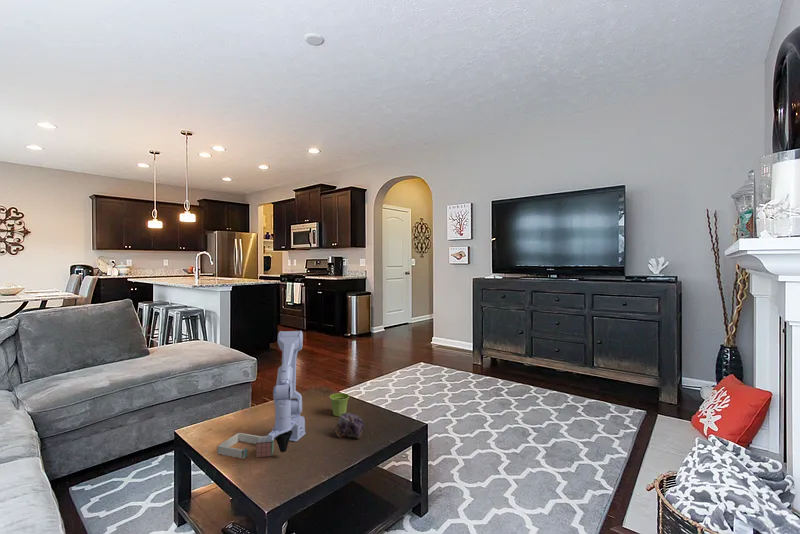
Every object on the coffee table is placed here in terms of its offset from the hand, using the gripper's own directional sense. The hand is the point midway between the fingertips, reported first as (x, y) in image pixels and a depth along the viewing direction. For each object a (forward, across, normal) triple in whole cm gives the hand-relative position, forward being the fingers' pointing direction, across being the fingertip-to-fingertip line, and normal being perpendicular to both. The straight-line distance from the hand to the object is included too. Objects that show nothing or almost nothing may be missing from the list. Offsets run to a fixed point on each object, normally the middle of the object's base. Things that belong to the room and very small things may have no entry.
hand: (283, 451), depth 150 cm
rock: (+2, -26, +14) cm, 30 cm away
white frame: (+2, +2, -19) cm, 19 cm away
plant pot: (+2, -43, -1) cm, 43 cm away
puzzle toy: (+2, +1, -8) cm, 8 cm away
